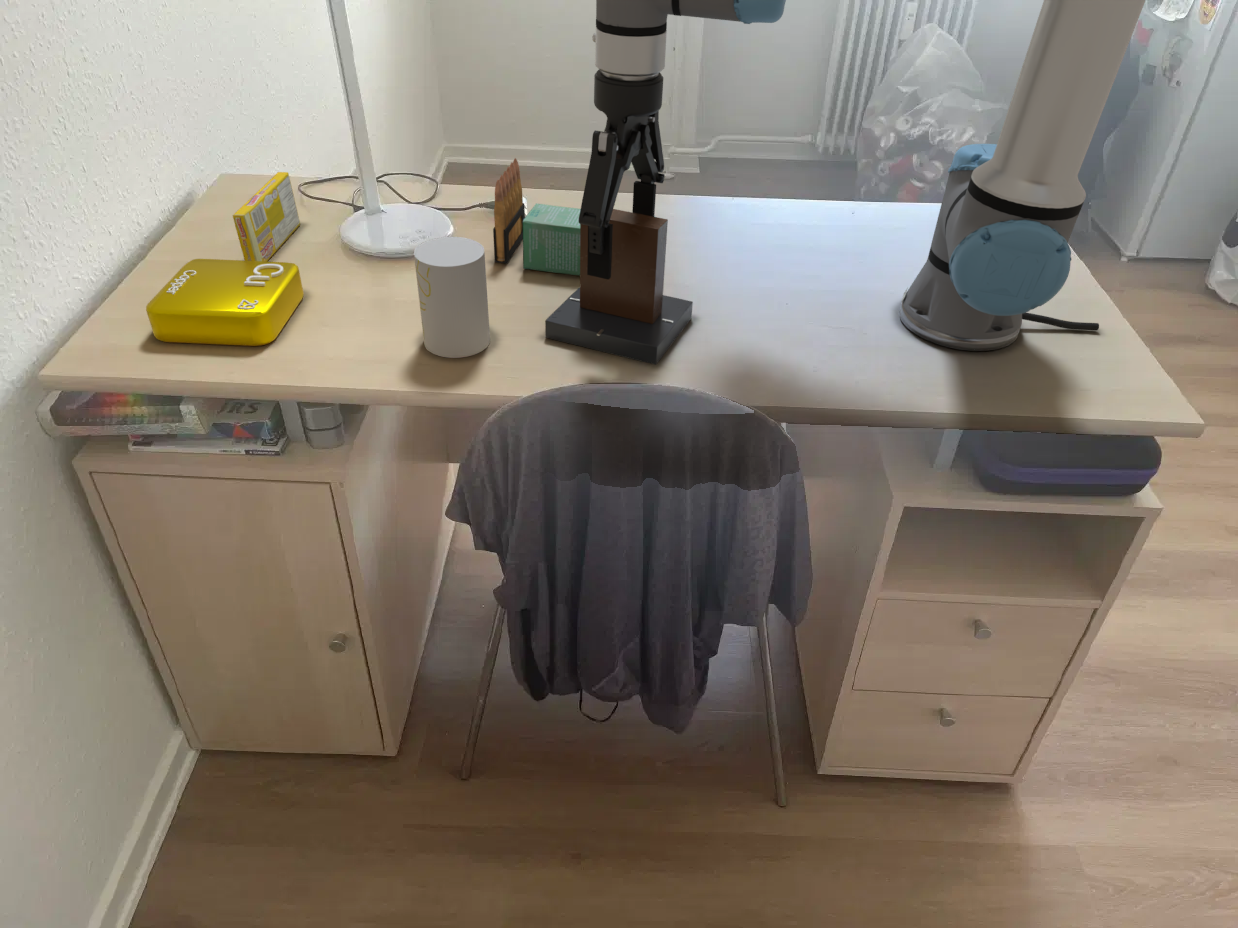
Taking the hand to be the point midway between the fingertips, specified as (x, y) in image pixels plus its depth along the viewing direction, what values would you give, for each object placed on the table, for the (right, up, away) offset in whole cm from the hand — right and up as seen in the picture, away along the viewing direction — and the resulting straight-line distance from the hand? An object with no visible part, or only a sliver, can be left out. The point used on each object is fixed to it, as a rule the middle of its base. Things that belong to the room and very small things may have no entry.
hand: (621, 254), depth 112 cm
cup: (-20, -10, +2) cm, 23 cm away
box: (-7, +3, +20) cm, 22 cm away
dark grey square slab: (0, -8, +6) cm, 10 cm away
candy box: (-51, +6, +22) cm, 56 cm away
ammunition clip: (-16, +6, +24) cm, 30 cm away
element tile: (-50, -7, +6) cm, 51 cm away
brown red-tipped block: (0, -6, +5) cm, 8 cm away
